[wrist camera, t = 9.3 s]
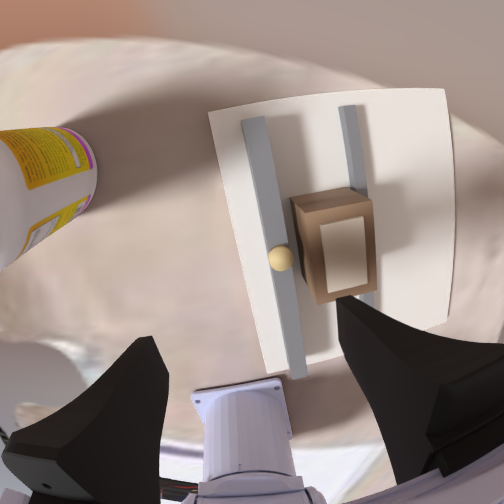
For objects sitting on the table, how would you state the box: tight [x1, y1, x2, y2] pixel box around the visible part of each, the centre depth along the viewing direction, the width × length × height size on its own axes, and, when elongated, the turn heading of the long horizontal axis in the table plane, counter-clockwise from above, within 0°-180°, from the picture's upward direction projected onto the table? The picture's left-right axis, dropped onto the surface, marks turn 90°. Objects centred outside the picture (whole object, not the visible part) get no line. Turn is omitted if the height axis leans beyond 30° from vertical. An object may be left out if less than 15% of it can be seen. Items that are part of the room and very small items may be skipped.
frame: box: [289, 187, 377, 305], centre depth 19 cm, size 6×4×4 cm
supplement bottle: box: [0, 127, 97, 271], centre depth 13 cm, size 7×7×13 cm
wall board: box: [208, 88, 455, 380], centre depth 20 cm, size 20×17×4 cm
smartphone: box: [159, 477, 198, 502], centre depth 33 cm, size 7×1×15 cm
